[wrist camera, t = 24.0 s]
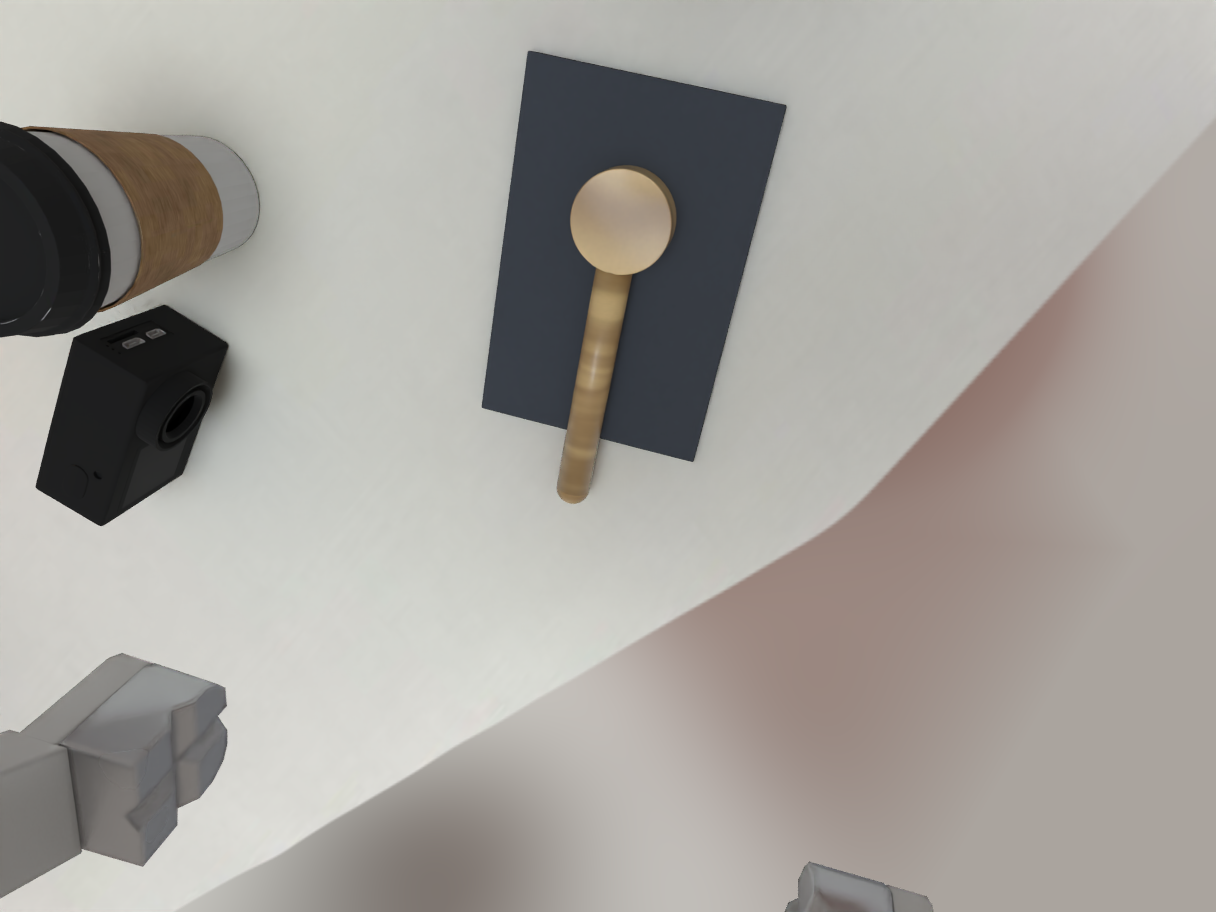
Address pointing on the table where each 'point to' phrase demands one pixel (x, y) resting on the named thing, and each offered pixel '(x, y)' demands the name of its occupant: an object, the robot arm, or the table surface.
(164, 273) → the coffee cup
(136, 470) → the digital camera
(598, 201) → the spoon
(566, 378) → the mat
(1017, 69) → the table surface
